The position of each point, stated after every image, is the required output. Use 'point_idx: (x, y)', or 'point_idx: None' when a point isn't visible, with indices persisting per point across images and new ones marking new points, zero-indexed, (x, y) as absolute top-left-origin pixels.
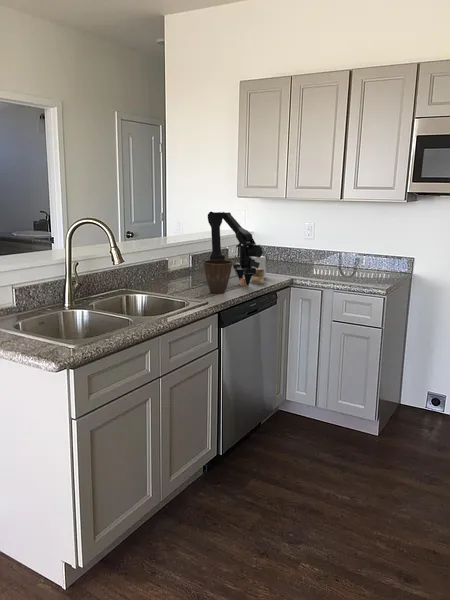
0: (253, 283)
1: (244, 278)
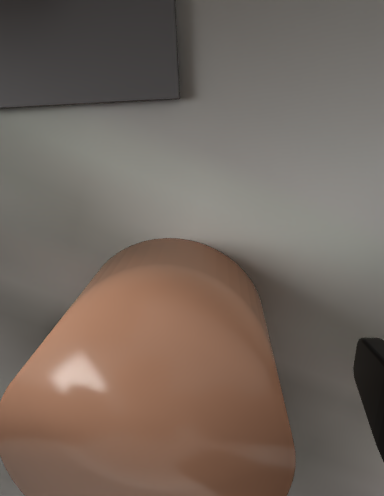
0: (16, 35)
1: (117, 452)
